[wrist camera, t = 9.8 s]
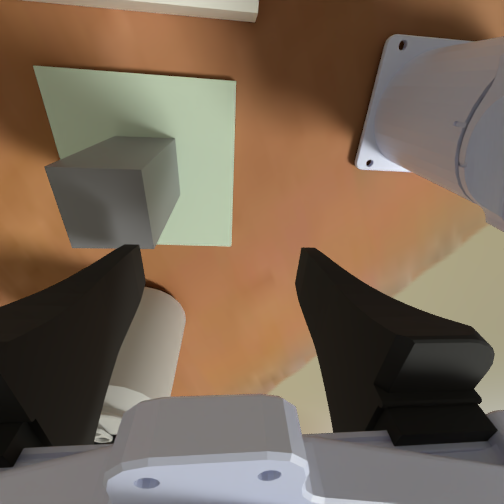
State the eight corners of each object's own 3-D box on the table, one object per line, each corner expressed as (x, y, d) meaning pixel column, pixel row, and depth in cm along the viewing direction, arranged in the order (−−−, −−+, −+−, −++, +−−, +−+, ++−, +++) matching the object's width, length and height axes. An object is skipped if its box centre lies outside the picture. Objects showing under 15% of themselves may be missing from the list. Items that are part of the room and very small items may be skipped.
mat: (236, 81, 18) (236, 81, 17) (231, 243, 24) (231, 246, 23) (38, 65, 17) (32, 65, 16) (87, 239, 23) (84, 242, 22)
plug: (175, 138, 19) (141, 169, 12) (180, 194, 21) (154, 248, 14) (114, 135, 18) (44, 166, 12) (126, 193, 20) (72, 247, 14)
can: (125, 340, 29) (67, 477, 19) (96, 286, 25) (4, 421, 15) (194, 331, 29) (173, 464, 19) (176, 275, 25) (137, 405, 15)
